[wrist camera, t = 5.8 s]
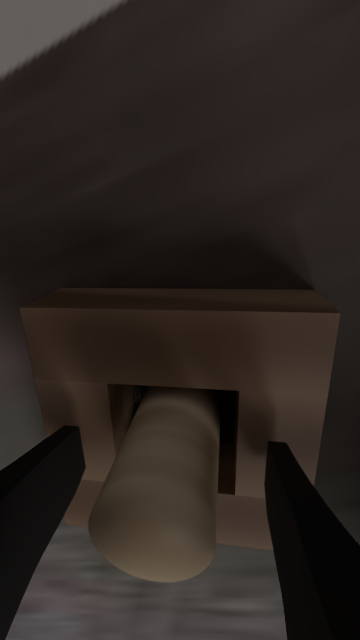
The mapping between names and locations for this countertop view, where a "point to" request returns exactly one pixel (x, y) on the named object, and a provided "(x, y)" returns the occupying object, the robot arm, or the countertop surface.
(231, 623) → the countertop surface
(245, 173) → the countertop surface
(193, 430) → the beech peg
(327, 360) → the walnut socket block
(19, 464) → the robot arm
